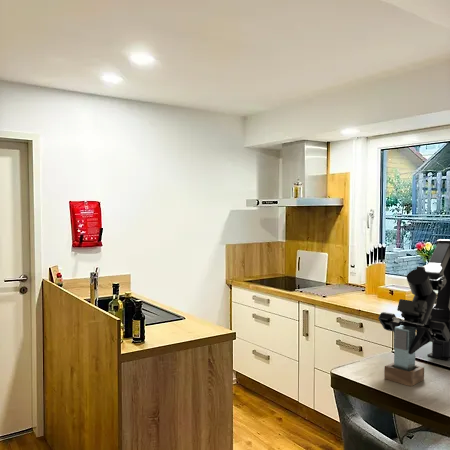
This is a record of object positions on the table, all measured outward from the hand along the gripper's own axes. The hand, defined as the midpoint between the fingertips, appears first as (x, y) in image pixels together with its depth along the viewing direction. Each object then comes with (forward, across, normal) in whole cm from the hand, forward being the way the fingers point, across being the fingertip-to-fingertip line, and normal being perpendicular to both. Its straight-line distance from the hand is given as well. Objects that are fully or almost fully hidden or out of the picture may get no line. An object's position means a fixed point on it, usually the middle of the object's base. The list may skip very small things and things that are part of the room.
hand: (402, 351), depth 127 cm
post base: (+5, 0, +6) cm, 8 cm away
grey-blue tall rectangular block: (+4, 0, +6) cm, 7 cm away
